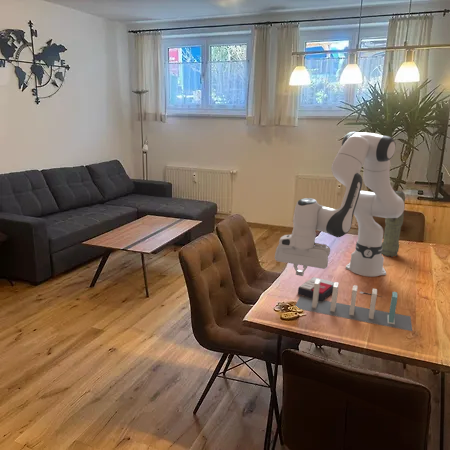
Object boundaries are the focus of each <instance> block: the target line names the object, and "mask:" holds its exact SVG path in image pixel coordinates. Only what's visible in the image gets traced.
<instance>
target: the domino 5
mask: <svg viewBox="0 0 450 450" xmlns="http://www.w3.org/2000/svg"><path fill="white" fill-rule="evenodd" d="M390 299H391V300H390V306H389V322H392V323H393V322H394V316H395V314H396V309H397V304H398V303H397V302H398V292H397V291H392V293H391V298H390Z"/></svg>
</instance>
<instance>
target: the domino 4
mask: <svg viewBox="0 0 450 450" xmlns="http://www.w3.org/2000/svg"><path fill="white" fill-rule="evenodd" d="M371 294H372V295H370V296H371V299H370V306H369V309H370V310H369V318H370V319H373V317H374V311H375V310H376V303H377V298H378V289H377V288H372V292H371Z"/></svg>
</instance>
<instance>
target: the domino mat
mask: <svg viewBox="0 0 450 450" xmlns="http://www.w3.org/2000/svg"><path fill="white" fill-rule="evenodd" d="M312 301H313V298H309V297H306V296H302V295H299V296H298V299H297V302H296V304H295V305H294V307H295V306H297V307H298V308H300V309H299V310H301V309H302V311H308V312H312V313H318V314H322V315H328V316H332V317H338V318H344V319H348V320H353V321H358V322H363V323H369V324H374V325H378V326H379V325H380V326H384V327H389V328H393V329H394V328H395V329H399V330H404V331H411V332H413V326H412V317H411V316H410V315H405V314H399V313H395V316H394V322H393V323H392V322H389V312H388V311H385V310H378V309H375V311H374V317H373V319H370V318H369V310H370V308H369V307H368V308H367V307H362V306H357V305H355V310H354V315H349V312H350V305H351V304H345V303H340V302H336V308H335V312H333V311H330V309H331V301H330V300H326V299H324V300H323V301H320V300H318V304H317V307H316V308H313V307H312Z"/></svg>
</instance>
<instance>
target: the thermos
mask: <svg viewBox="0 0 450 450" xmlns="http://www.w3.org/2000/svg"><path fill="white" fill-rule="evenodd" d="M394 192H395V193H396V194H397V195H398V196H399V197H401V198H402V200H403V201H404V204H405V202H406V194H405V192H404V191H400V190H394ZM404 216H405V213H404V212H403V213H402V214H401V216H399V217H398V218H384V219H385V221H384V222H385V226H384V232H383V239H382V253H381V255H382V254H383V255H382V256H384V255H385V257H389V256H391V257H390V258H394V257H393V256H396V257H398V254H399V249H400V244H399V243H400V242H399V241H400V236H401V231H402V230H401V229H402V226H403V222H404Z"/></svg>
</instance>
